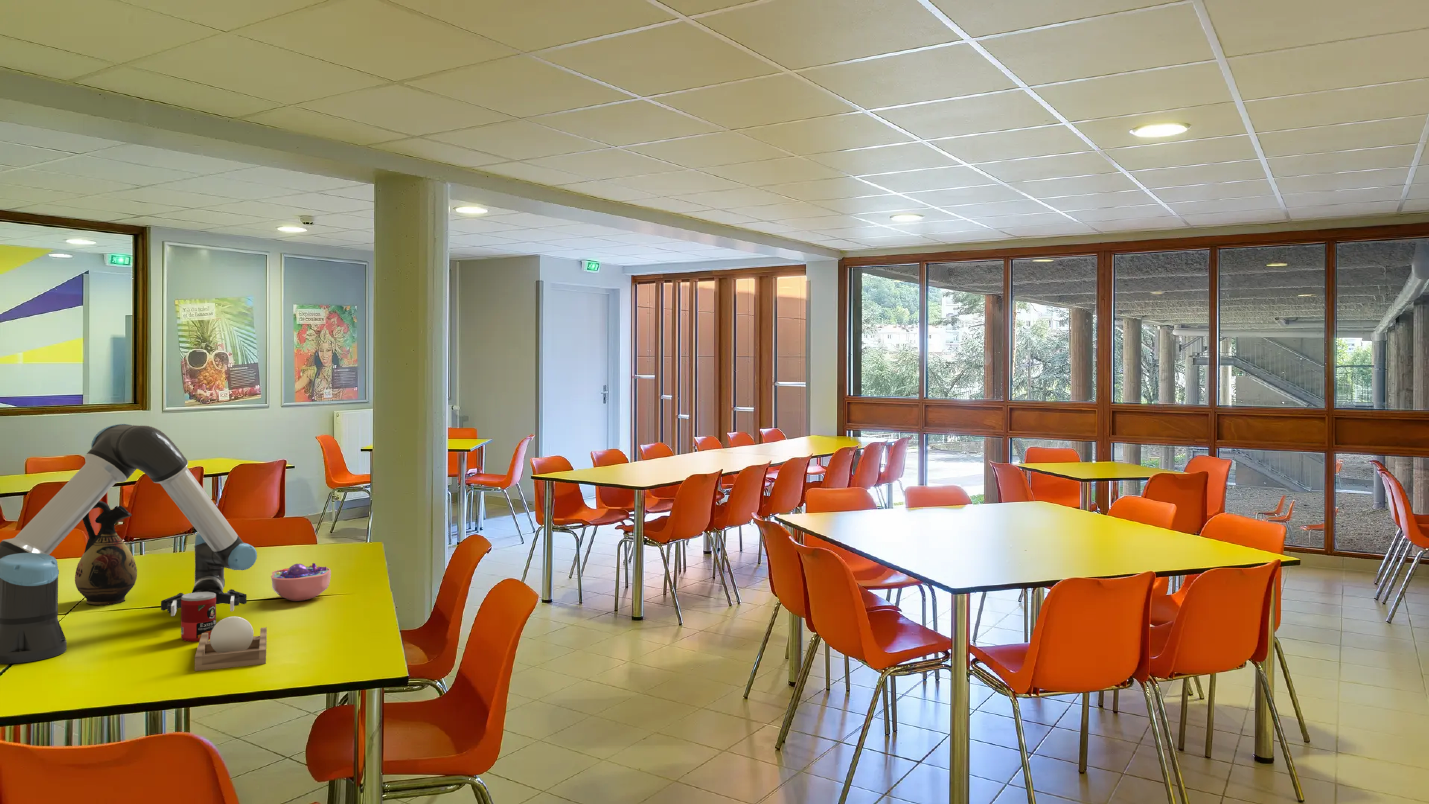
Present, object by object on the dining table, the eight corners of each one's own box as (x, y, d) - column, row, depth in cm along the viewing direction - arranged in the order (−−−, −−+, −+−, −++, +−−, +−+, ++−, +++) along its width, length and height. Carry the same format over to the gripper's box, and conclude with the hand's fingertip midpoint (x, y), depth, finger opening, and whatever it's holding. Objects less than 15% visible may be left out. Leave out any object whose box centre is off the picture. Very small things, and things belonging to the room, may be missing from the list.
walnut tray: (265, 663, 213) (265, 649, 213) (194, 671, 207) (194, 656, 207) (266, 639, 233) (266, 627, 233) (201, 646, 227) (201, 633, 227)
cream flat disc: (253, 653, 217) (253, 615, 217) (209, 658, 213) (210, 619, 213) (253, 652, 218) (253, 614, 218) (210, 656, 214) (210, 618, 214)
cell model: (341, 591, 289) (341, 556, 289) (316, 606, 269) (316, 568, 269) (287, 591, 289) (287, 555, 289) (257, 606, 269) (257, 567, 269)
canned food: (200, 643, 230) (201, 599, 230) (173, 640, 232) (173, 597, 231) (223, 635, 237) (223, 592, 237) (196, 633, 239) (196, 591, 239)
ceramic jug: (142, 594, 282) (142, 497, 282) (130, 605, 268) (131, 503, 268) (76, 598, 276) (77, 498, 276) (61, 610, 262) (61, 505, 261)
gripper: (256, 601, 266) (255, 618, 247) (156, 609, 255) (147, 627, 236) (256, 575, 266) (255, 590, 247) (156, 582, 255) (147, 598, 236)
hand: (202, 608), depth 241 cm, fingers open, 13 cm apart
